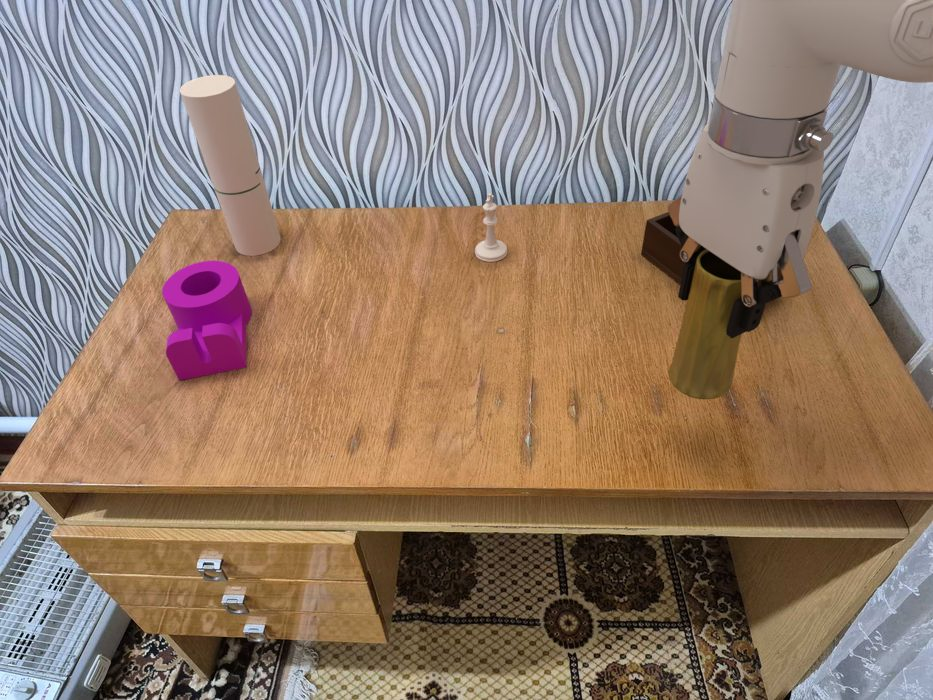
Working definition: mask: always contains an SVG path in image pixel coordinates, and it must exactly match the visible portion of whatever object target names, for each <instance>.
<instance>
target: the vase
mask: <svg viewBox="0 0 933 700" xmlns="http://www.w3.org/2000/svg"><path fill="white" fill-rule="evenodd" d="M757 282H758V279H757ZM739 298H741V271H739V270H738V269H736V268H734V267H733V266H731V265H730V264H728V263H727V262H725V261H724V260H722V259H721V258H719V257H718V256H716V255H715V254H713V253H712V252H710V251H709V250H707V249H706V250H704V251H702V252H701V253H700V254H699V256H698V258H697V261H696V265H695V270H694V275H693V279H692V284H691V289H690V293H689V297H688V300H686V305H685V309H684V313H683V318H682V321H681V325H680V329H679V333H678V337H677V340H676V345H675V348H674V353H673V357H672V361H671V364H670V366H669V368H668V378H669V381H670V383H671V384H672V386H673V387H674V388H675V389H676V390H677V391H679V392H680V393H681V394H684V395H685V396H687V397H689V398H693V399H697V400H703V401H704V400H715V399H718V398H720V397H723V396H724V395H726V394H728V392H729V391H730V390H731V388H732V386H733V381H734V375H735V369H736V362H737V358H738V352H739V346H740V343H741V339H742V334H743V333H742V334H740V335H738V336H736V337H734V338H730V337H729V336H728V335H727V332H726V329H727V326H728V322H729V318H730V315H731V311H732V307H733V304H734V301H735V300H737V299H739Z"/></svg>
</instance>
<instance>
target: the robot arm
mask: <svg viewBox="0 0 933 700" xmlns="http://www.w3.org/2000/svg"><path fill="white" fill-rule="evenodd" d="M841 66H843V67H847V68H851V69H854V70H858V71H862V72H865V73H868V74H871V75H875V76H879V77H882V78H885V79H890V80H894V81H898V82H899V81H900V82H906V83H915V84H921V83H922V84H924V83H933V0H732V3H731V8H730V13H729V17H728V24H727V29H726V34H725V39H724V45H723V50H722V55H721V60H720V65H719V69H718V70H719V71H718V75H717V80H716V85H715V91H714V96H713V99H712V100H713V101H712V106H711V112H710V116H709V121H708V123H707V124H706V125H704V127H703V129H702V130H701V133H700V136H699V138H698V140H697V143H696V145H695V148H694V151H693V154H692V157H691V159H690V162H689V166H688V170H687V173H686V177H685V180H684V184H683V189H682V192H681V196H679V197H677V199H675V200H672V202H670V203H669V204H668V205H667V212H669V214H670V217H671V219H672V221H673V223H674V225H675V226H677V227H676V234H677V237H678V239H679V241H680V244H681V246H682V249H681V251H680V257H681V259H682V260H683V261H684V262H685V264H684V269H683V274H682V279H681V284H679V290H678V295H677V297H678V299H680V300H681V301H685V302H687V301H688V297H689V293H690V289H691V284H692V279H693V275H694V270H695V265H696V261H697V258H698V256H699V254H700V253H701V252H702V251H704V250H706V249H707V250H709V251H710V252H712V253H713V254H715V255H716V256H718V257H719V258H721V259H722V260H724V261H725V262H727V263H728V264H730V265H731V266H733V267H734V268H736V269H738V270H739V271H741V298H739V299H737V300H735V301H734V304H733V307H732V311H731V315H730V318H729V322H728V326H727V329H726V332H727V335H728V336H729V337H730V338H734V337H736V336H738V335H740V334H744V333H751V332H752V331H754V330H755V329H757V328H758V327H759V325H760V324H761V321H762V318H763V315H764V312H765V308H766V305H767V303H769V302H773V301H776V300H779V299H789V298H796V297H800V296H801V295H804V294H806V293H807V292H810V291H811V290H812V288H813V285H812V282H811V279H810V275H809V273H808V269H807V267H806V264H805V261H804V257H805V255H806V253H807V250H808V247H809V243H810V241H811V240H810V239H811V236H812V233H813V231H814V230H813V229H814V225H815V222H816V217H817V215H818V214H817V213H818V209H819V205H820V204H819V203H820V200H821V199H820V198H821V194H822V193H821V192H822V186H823V180H824V168H825V151H826V150H827V149H828V148H829V147H830V145H831V144H832V142H833V139H834V134H833V132H831V131H829V130H827V129H826V127H824V123H825V119H826V117H827V114H828V111H827V110H828V106H829V103H830V101H831V97H832V95H833V91H834V87H835V84H836V82H837V79H838V75H839V73H840V69H841ZM777 262H778V264H779V267H780V269H781V272H782V275H783V280H779V281H777ZM757 279H761V285H760V286H757ZM766 302H767V303H766Z"/></svg>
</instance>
